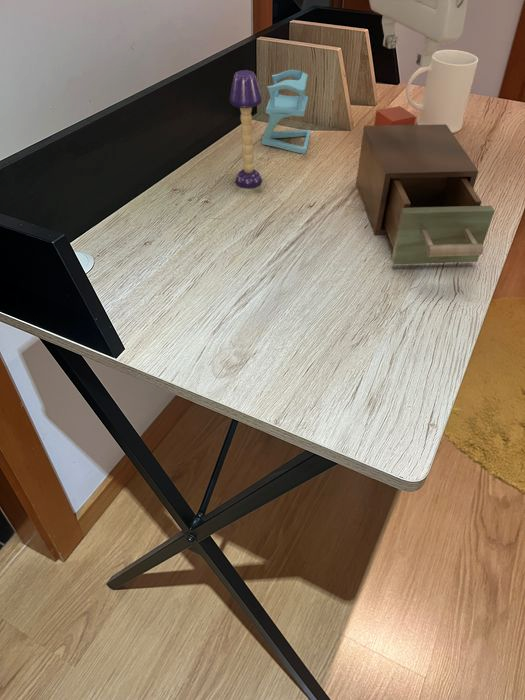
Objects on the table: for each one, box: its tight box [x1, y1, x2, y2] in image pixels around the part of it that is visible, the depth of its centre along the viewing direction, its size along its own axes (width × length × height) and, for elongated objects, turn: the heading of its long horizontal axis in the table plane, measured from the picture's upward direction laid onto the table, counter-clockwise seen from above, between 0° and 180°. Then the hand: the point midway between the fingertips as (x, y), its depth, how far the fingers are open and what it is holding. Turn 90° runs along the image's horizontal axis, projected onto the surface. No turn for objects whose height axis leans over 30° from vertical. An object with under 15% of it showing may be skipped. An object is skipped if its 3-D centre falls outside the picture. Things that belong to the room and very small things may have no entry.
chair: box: [261, 69, 311, 155], centre depth 98 cm, size 8×8×12 cm
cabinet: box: [355, 124, 479, 236], centre depth 84 cm, size 15×13×10 cm
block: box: [373, 105, 417, 126], centre depth 102 cm, size 5×5×5 cm
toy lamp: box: [229, 69, 263, 189], centre depth 86 cm, size 5×5×17 cm
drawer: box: [382, 177, 496, 265], centre depth 76 cm, size 18×11×8 cm, turn 4°
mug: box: [405, 49, 479, 134], centre depth 105 cm, size 12×8×12 cm
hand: (405, 56), depth 93 cm, fingers open, 8 cm apart
